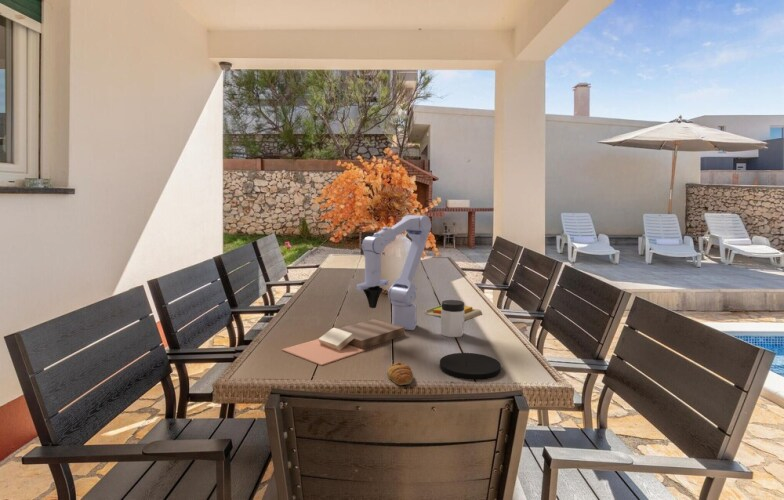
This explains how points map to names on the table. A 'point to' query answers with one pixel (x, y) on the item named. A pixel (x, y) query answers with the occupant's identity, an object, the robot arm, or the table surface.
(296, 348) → the terracotta mat
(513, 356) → the table surface
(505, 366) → the table surface
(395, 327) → the walnut board
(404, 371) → the pastry
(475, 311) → the wooden puzzle
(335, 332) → the birch tile
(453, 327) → the jar
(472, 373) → the wireless charger
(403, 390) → the table surface
